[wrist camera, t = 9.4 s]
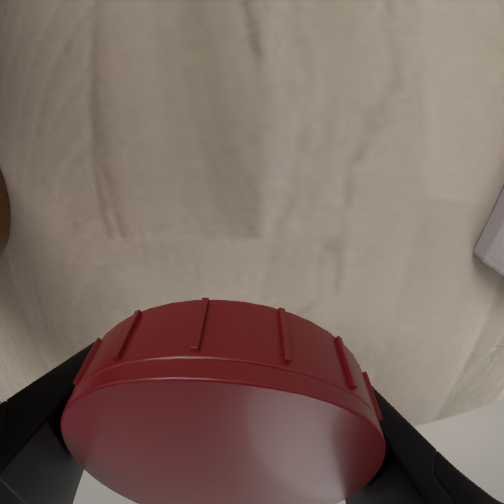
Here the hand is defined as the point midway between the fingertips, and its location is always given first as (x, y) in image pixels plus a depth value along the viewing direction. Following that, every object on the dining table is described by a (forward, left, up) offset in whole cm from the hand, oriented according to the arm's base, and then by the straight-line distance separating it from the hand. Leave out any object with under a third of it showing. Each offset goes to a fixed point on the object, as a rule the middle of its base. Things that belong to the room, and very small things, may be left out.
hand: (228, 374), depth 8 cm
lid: (0, 0, +3) cm, 3 cm away
